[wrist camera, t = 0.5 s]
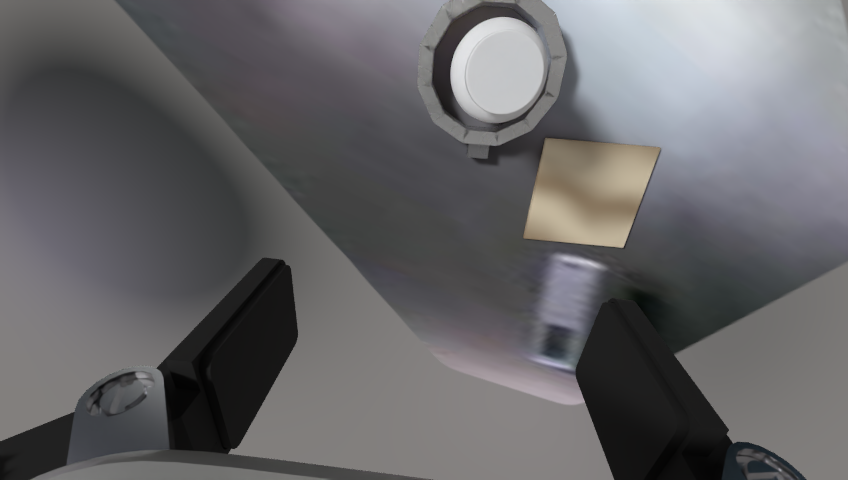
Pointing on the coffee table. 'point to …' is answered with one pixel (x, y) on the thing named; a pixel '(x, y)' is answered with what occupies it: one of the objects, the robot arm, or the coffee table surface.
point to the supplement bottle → (498, 70)
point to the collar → (480, 138)
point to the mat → (588, 191)
